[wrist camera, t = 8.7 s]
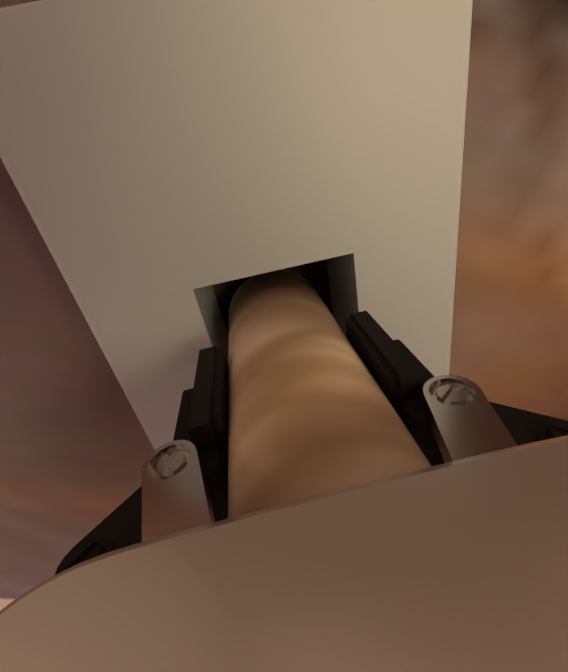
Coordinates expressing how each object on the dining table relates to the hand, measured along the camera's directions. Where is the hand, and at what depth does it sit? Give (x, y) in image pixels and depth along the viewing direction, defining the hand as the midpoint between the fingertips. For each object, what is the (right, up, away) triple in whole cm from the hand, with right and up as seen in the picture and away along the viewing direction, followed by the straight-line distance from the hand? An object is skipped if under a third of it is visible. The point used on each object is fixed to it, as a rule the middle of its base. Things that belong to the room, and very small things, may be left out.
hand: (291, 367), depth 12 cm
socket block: (-1, +6, +5) cm, 8 cm away
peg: (-1, +2, +4) cm, 5 cm away
